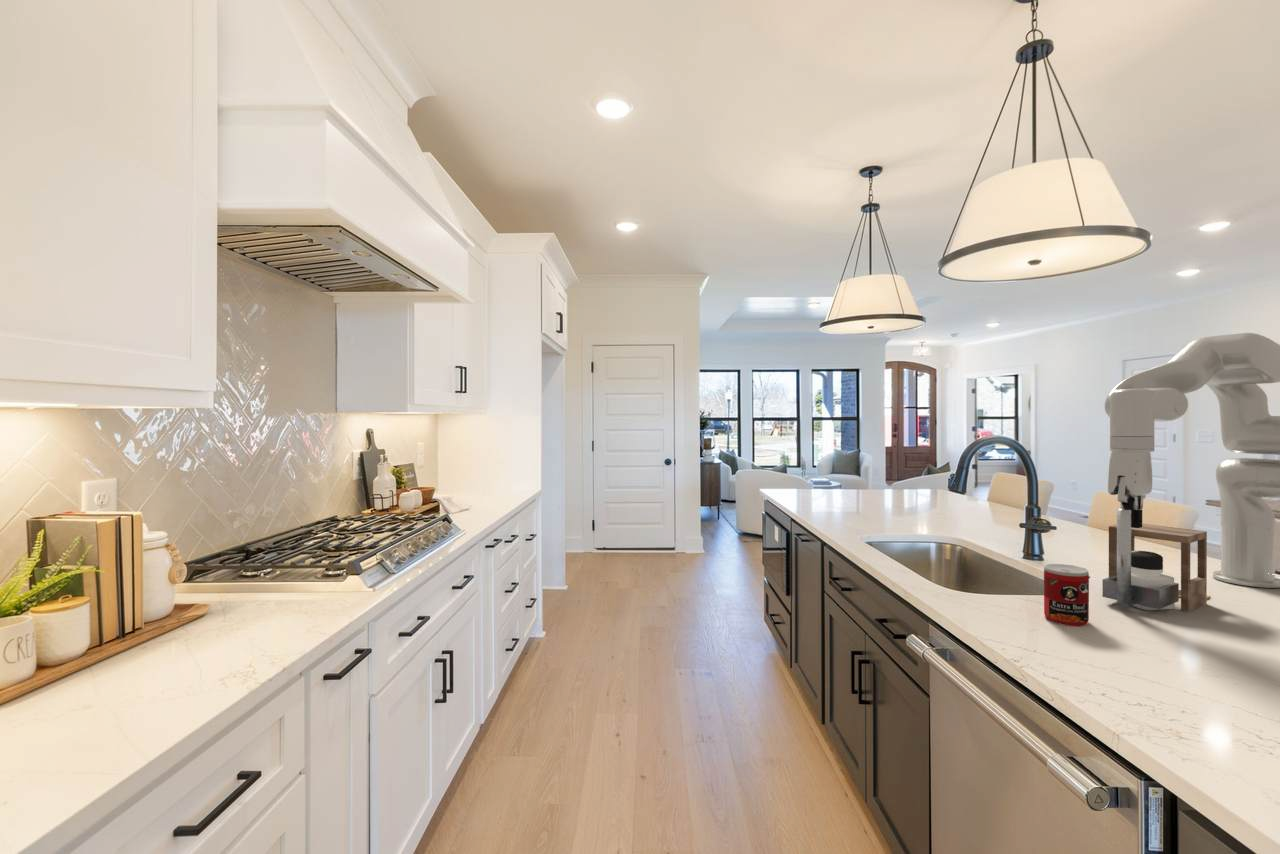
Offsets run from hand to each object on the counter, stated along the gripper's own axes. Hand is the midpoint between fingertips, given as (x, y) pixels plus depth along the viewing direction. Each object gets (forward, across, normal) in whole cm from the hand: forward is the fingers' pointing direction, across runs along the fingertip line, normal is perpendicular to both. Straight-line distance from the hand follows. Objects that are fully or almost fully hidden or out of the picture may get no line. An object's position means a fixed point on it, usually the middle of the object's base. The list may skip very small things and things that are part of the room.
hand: (1131, 526), depth 128 cm
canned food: (+18, +20, -4) cm, 28 cm away
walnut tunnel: (+18, -13, 0) cm, 22 cm away
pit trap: (+18, -22, 0) cm, 28 cm away
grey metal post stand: (+17, -2, 0) cm, 17 cm away
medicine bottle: (+18, -6, 0) cm, 19 cm away
